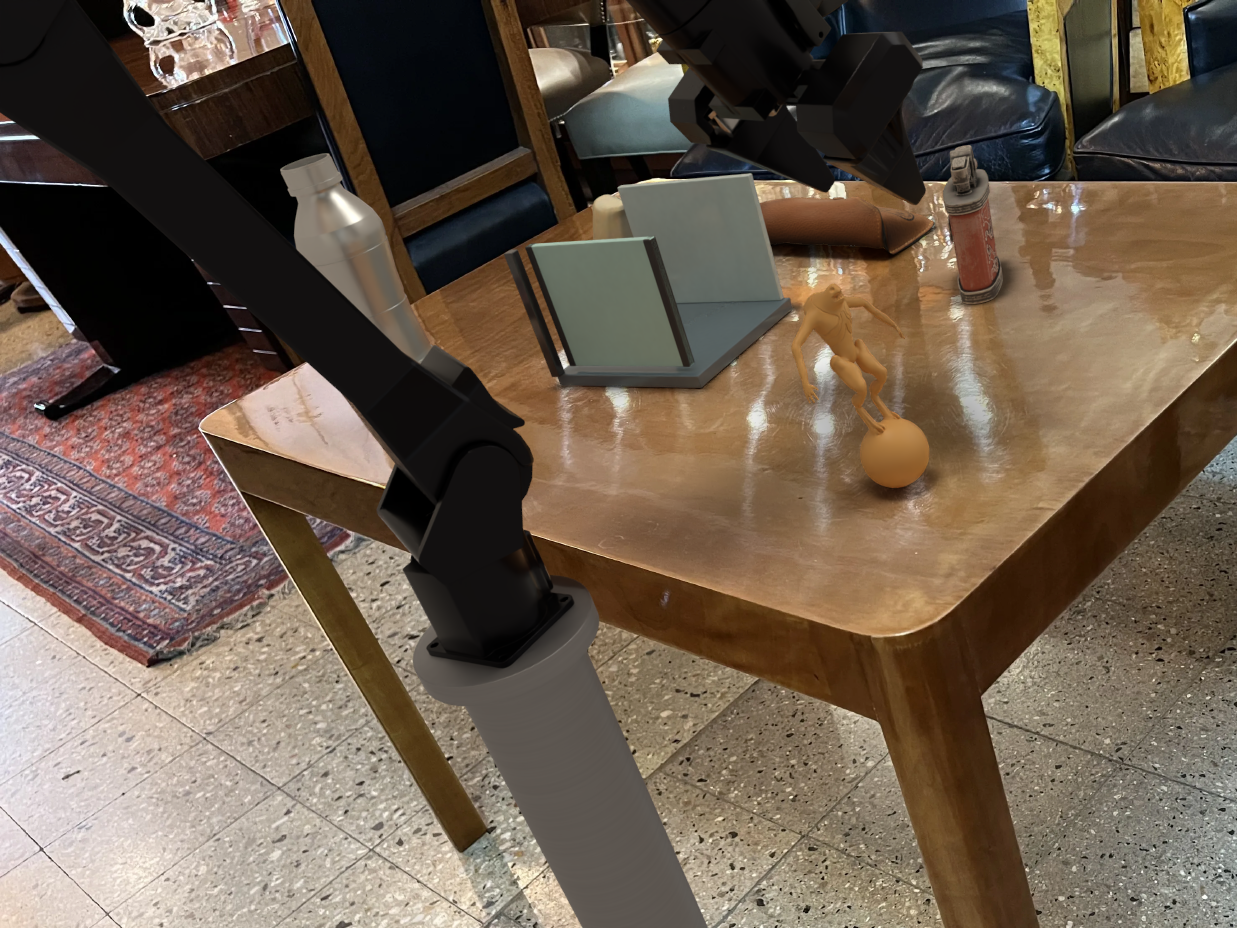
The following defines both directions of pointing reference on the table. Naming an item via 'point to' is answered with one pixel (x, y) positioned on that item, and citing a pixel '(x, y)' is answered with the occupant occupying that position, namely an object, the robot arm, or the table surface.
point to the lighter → (972, 228)
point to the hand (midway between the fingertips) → (873, 192)
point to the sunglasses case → (842, 223)
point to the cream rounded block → (610, 219)
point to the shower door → (611, 302)
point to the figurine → (863, 387)
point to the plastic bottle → (352, 250)
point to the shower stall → (689, 278)
